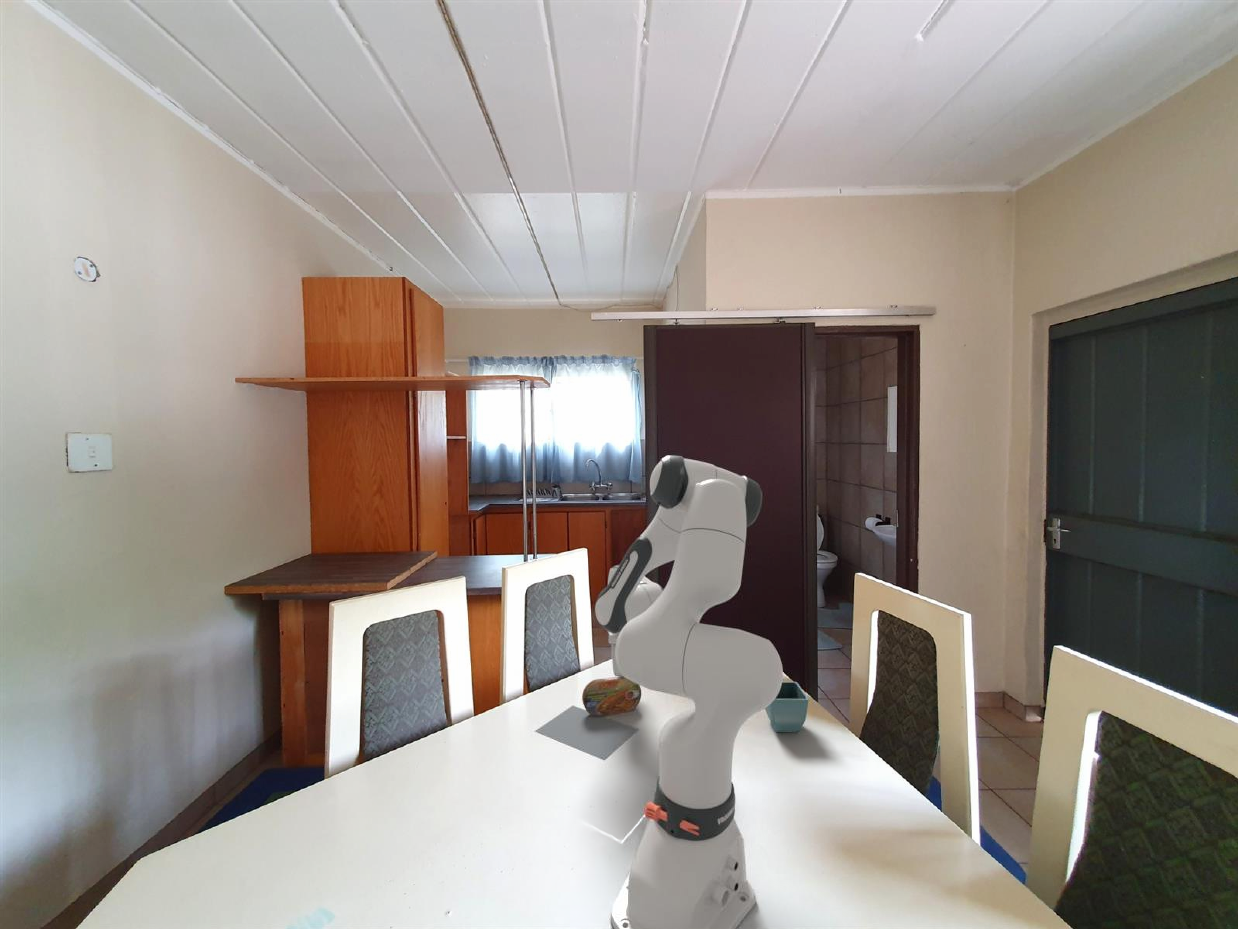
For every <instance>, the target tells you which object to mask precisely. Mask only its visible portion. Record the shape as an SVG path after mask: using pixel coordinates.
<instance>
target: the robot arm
mask: <svg viewBox="0 0 1238 929" xmlns="http://www.w3.org/2000/svg"><path fill="white" fill-rule="evenodd" d="M760 486H761V485H760V484H759V483H758V482H757V481H755V480H754V479H751V478H749V477H748V476H746V475H739V474H738V473H734V472H732V471H729V470H727V469H725V468H722V467H718V466H716V465H714V464H712V463H708V462H704V461H700V460H695V459H690V458H684V457H683V456H682V455H671V454H670V455H665V456H664V457H662V458H660V460H659V461H658V463H657V464H656V465H655V467H654V469H653V470H652V472H651V475H650V479H649V489H650V490H649V491H650V493H649V494H650V497H651V499H652V500H653V502H654V503H655V504H657V505H658V509H657V511H656V513H655V516H654V517H653V519H652V520H651V522H650V523H649V525H648V526H647V527H646V529H645V530H644V531H643V532H642V534H640V536H639V537H637V538H636V539H635V541H634V542H632V544H631V545H630V546H629V547H628V549H627V551H626V553H625V554H624V556H623V558H622V560H621V562H619V564H618V565H614V566H612V567H611V568H610V569H609V573H608V579H607V585H606V587H605V588H603V589H602V590H601V591H600V593H599V594H598V596H597V598H596V601H595V604H594V616H595V619H596V621H597V623H598V625H599V626H601V628H603V629H604V630H606V631H607V635H608V644H610V645H611V646H610V648H611V662H612V671H613V675H614V677H619V676H623V677H624V678H626V679H628V680H630V681H632V682H634V683H636V684H638V685H639V686H640V687H643V688H645V689H647V690H650V691H654V692H659V693H663V694H668V695H673V696H678V697H682V698H687V699H689V700H691V701H693V702H694V706H695V708H692V709H689V710H685V711H683V712H680V713H678V714H675V715H674V716H673V717H671V718H669V719H668V720H667V721H666V722H665V724H664V725H663V727H662V729H661V732H660V734H659V738H658V755H659V757H658V761H659V762H658V763H659V764H658V765H659V766H658V767H659V768H658V770H659V772H658V773H659V774H658V777H657V779H656V780H657V781H656V785H655V789H654V794H653V796H654V797H653V802H652V801H648V802H647V803H646V805H645V808H644V817H645V818H646V819H648V821H647V825H646V827H645V829H644V832H643V834H642V837H641V840H640V843H639V845H638V848H637V851H636V853H635V855H634V859H633V860H632V861H633V862H632V865H631V867H630V869H629V872H628V874H627V876H626V878H625V880H624V882H623V884H622V887H621V889H620V891H619V893H618V895H617V897H616V899H615V901H614V903H613V906H612V908H611V912H610V919H609V920H610V922H611V924H612V926H613V929H737V927H738V926H739V925H740V924H741V923H742V921H743V920H744V918H746V916H747V915H748V913H749V912H750V911H751V910H752V909H753V907H754V906H755V904H756V902H757V898H756V892H755V889H754V888H753V886H752V884H751V883H750V882H749V881H748V879H747V867H746V865H747V864H746V852H745V840H744V837H743V835H742V833H741V830H740V829H739V826H738V825H737V824H738V823H737V822H736V820H735V819H736V818H735V813H736V793H735V786H734V783H733V781H732V780H733V776H732V774H733V772H732V770H733V757H734V756H733V755H734V746H735V741H736V737H737V735H738V733H739V732H740V730H741V728H742V726H743V725H744V724H745V723H746V722H747V721H748V719H750V718H751V717H752V716H754V715H756V713H758V712H761V711H762V710H765V708H766V707H768V706H769V705H770V704H771V703H772V702H773V701H774V700H775V698H776V697H777V695H778V693H779V691H780V688H781V685H782V682H783V678H784V675H783V674H784V672H783V664H782V661H781V657H780V655H779V653H778V651H777V649H776V647H775V645H774V644H773V643H772V642H771V641H770V640H769V639H766V638H765V637H762V636H759V635H757V634H754V633H751V632H748V631H745V630H742V629H739V628H733V627H725V626H720V625H712V624H706V623H701V622H700V621H701V619H702V617H703V615H704V614H705V613H706V612H707V611H708V610H709V609H711V608H713V607H715V606H716V605H720V604H723V603H726V602H727V601H729V600H731V599H732V598H733V597H734V596H735V595H736V594H737V593H738V591H739V590H740V587H741V585H742V584H741V583H742V576H743V567H744V559H745V550H746V541H747V540H746V539H747V528H749V527H750V526H751V525H753V523H755V522H756V521H757V518H758V516H759V514H760V513H761V512H760V511H761V508H762V504H763V491H762V489H761V487H760ZM672 561H674V562H673V564H672V565H673V566H672V569H671V573H670V576H669V579H668V581H667V583H666V585H665V587H664V588H663V587H662V586H661V585H660V584H658V583H657V582H654V581H651V580H650V579H649V578H648V577H646V575H647V574H648V573H649V572H651V571H653V570H654V569H655V568H658V567H660V566H662V565H665V564H667V563H670V562H672Z"/></svg>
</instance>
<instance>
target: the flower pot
mask: <svg viewBox="0 0 1238 929" xmlns="http://www.w3.org/2000/svg"><path fill="white" fill-rule="evenodd" d="M809 700H810V698H809V697H808V696H807V694H806V693H805V692H804V690H803V689H802V687H801V686H800V684H799V683H798V682H797V681H782V685H781V688H780V691H779V693H778V695H777V697H776V698H775V700H774V701H773V702H772V703H771V704H770V705H769V706H768V707H766V708H765V709H764V710H765V713H766V715H767V717H768V719H769V721H770V723H771V725H772V728H773V729H774V731H775V732H776V733H798V732H799V731H800V730H801V729H802V727H803V726H804V724H805V722H806V720H807V719H806V718H807V714H808V713H807V712H808V707H809Z"/></svg>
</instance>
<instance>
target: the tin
mask: <svg viewBox="0 0 1238 929" xmlns="http://www.w3.org/2000/svg"><path fill="white" fill-rule="evenodd" d="M581 699H582V700H581V701H582V704H583V707H584V708H585V709H584V710H586V711H587V712H588V713H589V714H590V715H592V716H596V717H600V716H604V717H607V716H612V715H617V714H618V715H620V714H626V713H629V712H631V711H632V712H633V710H635V709H636V708H637V706H638V705H639V704H640V702H641V699H642V689H641V685H638V684H636V683H634V682H632V681H630V680H628V679H626V678H624V677H623V676H614V677H612V676H611V677H604V678H596V679H594V680H591V681H590V682H588V683H587V685H585V687H584V689H583V691H582V696H581Z"/></svg>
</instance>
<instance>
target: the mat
mask: <svg viewBox="0 0 1238 929" xmlns="http://www.w3.org/2000/svg"><path fill="white" fill-rule="evenodd" d="M639 730H640V728H637V727H636V726H631V725H629V724H626V723H624V722H620V721H618V720H615V719H612V718H609V717H607V716H600V717H596V716H592V715H590V714H589V713H588V712H587V711H586V709H584V708H581V707H578V706H575V705H571V706H569V707H568V708H567V709H565V710H564V711H562V712H561V713H560V714H558V715H556V716H555V717H554V718H552V719H550V720H549V721H548V722H546V723H545V724H543V725H542V726H540V727H538V728H537V729H536V730H534V732H536V733H537V734H540V735H542V736H545V737H547V738H550V739H552V740H554V741H557V742H559V743H561V744H564V745H567V746H570V747H572V748H574V749H576V750H579V751H581V752H583V753H585V754H586V753H587V754H588V755H590V756H593V757H596V758H598V759H600V760H603V761H605V760H607V759H608V758H609V757H610V756H611V755H612V754H613V753H615V751H617V750H618V749H619V748H620V747H621V746H622V745H624V744H625V742H627V741H629V739H630V738H631V737H632V736H633V735H635V733H636V732H638V731H639Z"/></svg>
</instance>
